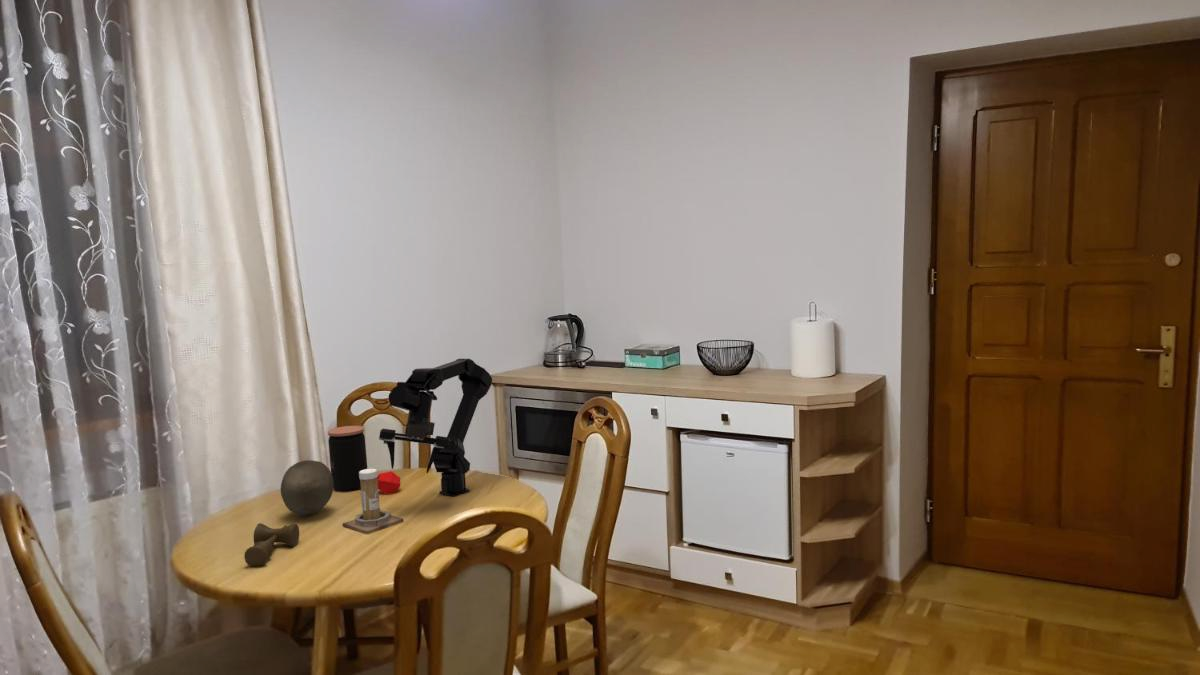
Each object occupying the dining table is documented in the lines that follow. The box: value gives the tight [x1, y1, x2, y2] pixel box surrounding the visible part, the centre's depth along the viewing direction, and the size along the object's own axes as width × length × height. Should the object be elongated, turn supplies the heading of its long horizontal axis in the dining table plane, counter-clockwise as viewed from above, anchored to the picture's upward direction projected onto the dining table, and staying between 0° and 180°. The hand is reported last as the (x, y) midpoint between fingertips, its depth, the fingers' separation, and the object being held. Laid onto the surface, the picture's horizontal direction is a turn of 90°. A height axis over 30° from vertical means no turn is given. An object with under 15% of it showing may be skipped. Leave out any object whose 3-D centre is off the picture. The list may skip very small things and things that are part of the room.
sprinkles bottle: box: [359, 468, 381, 520], centre depth 207 cm, size 5×5×14 cm
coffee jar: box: [327, 425, 368, 493], centre depth 242 cm, size 11×11×18 cm
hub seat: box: [342, 510, 405, 535], centre depth 207 cm, size 11×11×2 cm
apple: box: [377, 471, 401, 495], centre depth 236 cm, size 7×7×8 cm
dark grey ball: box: [280, 459, 334, 517], centre depth 217 cm, size 14×14×15 cm
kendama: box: [243, 522, 300, 568], centre depth 191 cm, size 6×10×20 cm
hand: (409, 470), depth 214 cm, fingers open, 9 cm apart
